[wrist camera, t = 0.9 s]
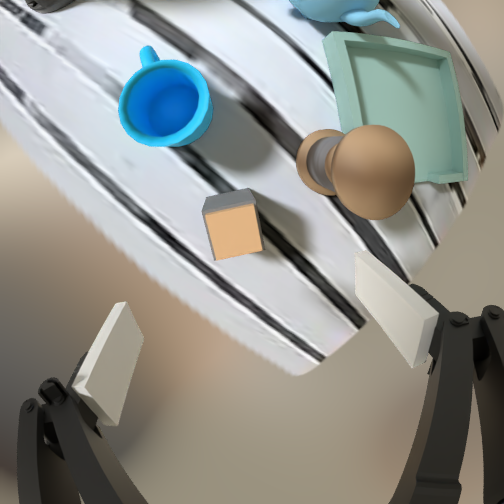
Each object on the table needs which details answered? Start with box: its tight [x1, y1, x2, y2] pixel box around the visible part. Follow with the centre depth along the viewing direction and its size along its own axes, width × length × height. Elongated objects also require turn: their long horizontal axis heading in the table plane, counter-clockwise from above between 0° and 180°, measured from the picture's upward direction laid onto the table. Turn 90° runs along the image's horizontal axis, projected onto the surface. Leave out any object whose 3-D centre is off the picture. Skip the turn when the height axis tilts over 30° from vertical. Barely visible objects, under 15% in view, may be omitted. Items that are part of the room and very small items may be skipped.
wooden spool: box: [296, 125, 415, 220], centre depth 25 cm, size 8×8×12 cm
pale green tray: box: [322, 31, 468, 184], centre depth 27 cm, size 20×20×4 cm
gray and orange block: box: [202, 188, 265, 261], centre depth 28 cm, size 5×5×8 cm
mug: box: [118, 46, 213, 147], centre depth 22 cm, size 12×8×8 cm
